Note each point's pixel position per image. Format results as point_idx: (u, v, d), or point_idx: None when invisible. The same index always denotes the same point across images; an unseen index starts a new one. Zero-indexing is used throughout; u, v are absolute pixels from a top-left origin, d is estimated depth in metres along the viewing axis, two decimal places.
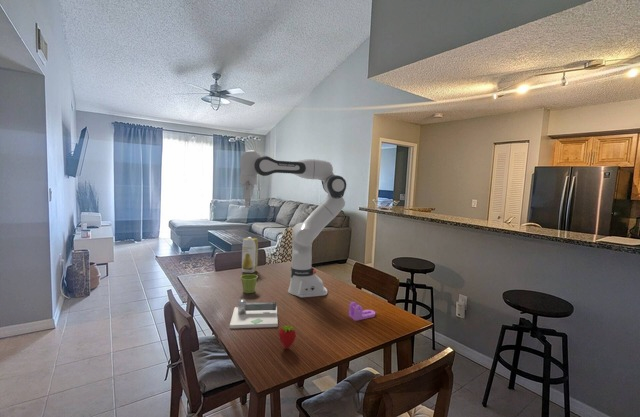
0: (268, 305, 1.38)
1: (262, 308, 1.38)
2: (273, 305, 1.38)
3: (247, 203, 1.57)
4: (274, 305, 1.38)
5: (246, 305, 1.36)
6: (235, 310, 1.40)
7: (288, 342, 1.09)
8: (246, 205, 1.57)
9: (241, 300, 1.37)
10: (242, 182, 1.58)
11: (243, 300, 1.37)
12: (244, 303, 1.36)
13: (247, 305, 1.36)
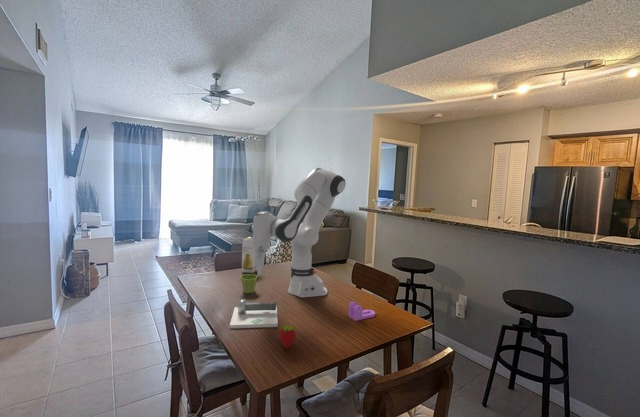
0: (268, 305, 1.38)
1: (262, 308, 1.38)
2: (273, 305, 1.38)
3: (259, 271, 1.41)
4: (274, 305, 1.38)
5: (246, 305, 1.36)
6: (235, 310, 1.40)
7: (288, 342, 1.09)
8: (258, 273, 1.41)
9: (241, 300, 1.37)
10: (254, 247, 1.42)
11: (243, 300, 1.37)
12: (244, 303, 1.36)
13: (247, 305, 1.36)
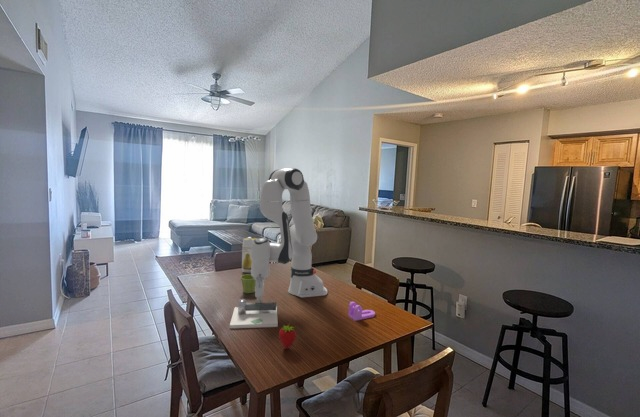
0: (268, 305, 1.38)
1: (262, 308, 1.38)
2: (273, 305, 1.38)
3: (259, 299, 1.42)
4: (274, 305, 1.38)
5: (246, 305, 1.36)
6: (235, 310, 1.40)
7: (288, 342, 1.09)
8: (258, 301, 1.42)
9: (241, 300, 1.37)
10: (254, 275, 1.43)
11: (243, 300, 1.37)
12: (244, 303, 1.36)
13: (247, 305, 1.36)
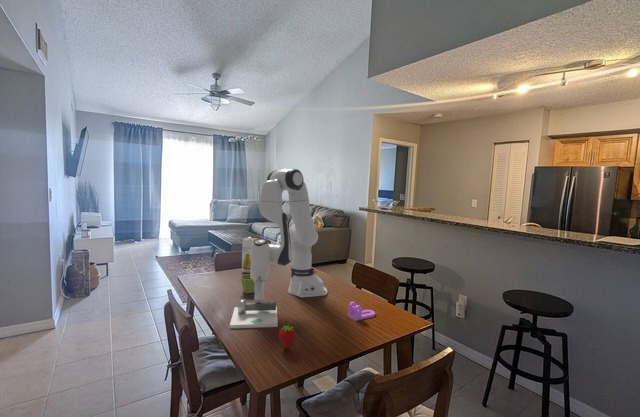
0: (268, 305, 1.38)
1: (262, 308, 1.38)
2: (273, 305, 1.38)
3: (259, 302, 1.39)
4: (274, 305, 1.38)
5: (246, 305, 1.36)
6: (235, 310, 1.40)
7: (288, 342, 1.09)
8: None
9: (241, 300, 1.37)
10: (253, 278, 1.39)
11: (243, 300, 1.37)
12: (244, 303, 1.36)
13: (247, 305, 1.36)
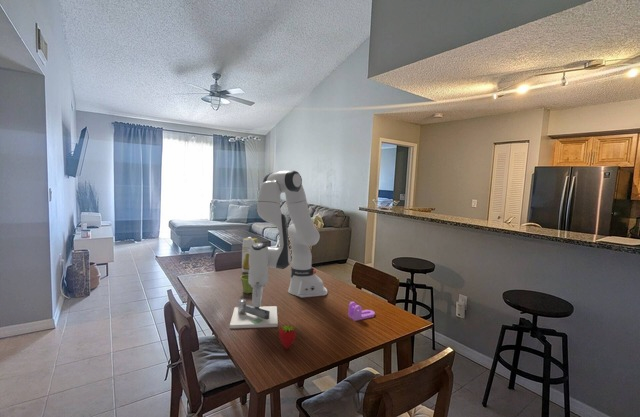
0: (261, 312, 1.30)
1: (256, 313, 1.32)
2: (265, 313, 1.29)
3: (257, 306, 1.34)
4: (266, 314, 1.29)
5: (243, 305, 1.35)
6: (235, 310, 1.40)
7: (288, 342, 1.09)
8: None
9: (241, 300, 1.37)
10: (251, 283, 1.33)
11: (243, 300, 1.36)
12: (241, 303, 1.35)
13: (244, 306, 1.35)
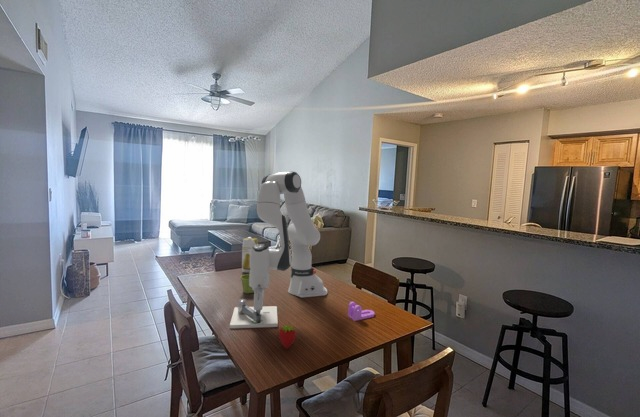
0: (253, 315, 1.28)
1: (250, 315, 1.30)
2: (256, 317, 1.26)
3: (258, 311, 1.29)
4: (256, 317, 1.25)
5: (242, 306, 1.35)
6: (235, 310, 1.40)
7: (288, 342, 1.09)
8: None
9: (242, 300, 1.37)
10: (252, 285, 1.30)
11: (243, 300, 1.36)
12: (240, 303, 1.35)
13: (243, 307, 1.34)
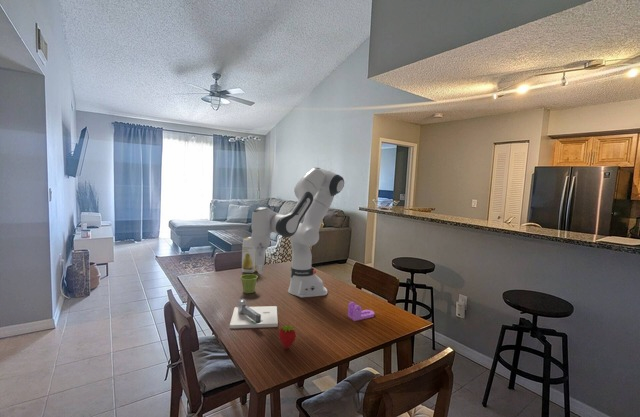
0: (253, 315, 1.27)
1: (250, 315, 1.29)
2: (256, 317, 1.26)
3: (260, 269, 1.37)
4: (256, 317, 1.25)
5: (242, 306, 1.35)
6: (235, 310, 1.40)
7: (288, 342, 1.09)
8: (259, 271, 1.37)
9: (242, 300, 1.37)
10: (254, 244, 1.38)
11: (243, 300, 1.36)
12: (240, 303, 1.35)
13: (243, 307, 1.34)
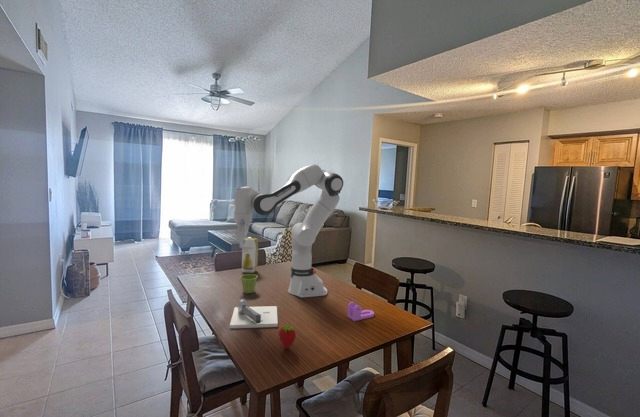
0: (253, 315, 1.27)
1: (250, 315, 1.29)
2: (256, 317, 1.26)
3: (241, 243, 1.46)
4: (256, 317, 1.25)
5: (242, 306, 1.35)
6: (235, 310, 1.40)
7: (288, 342, 1.09)
8: (240, 245, 1.47)
9: (242, 300, 1.37)
10: (236, 221, 1.47)
11: (243, 300, 1.36)
12: (240, 303, 1.35)
13: (243, 307, 1.34)
